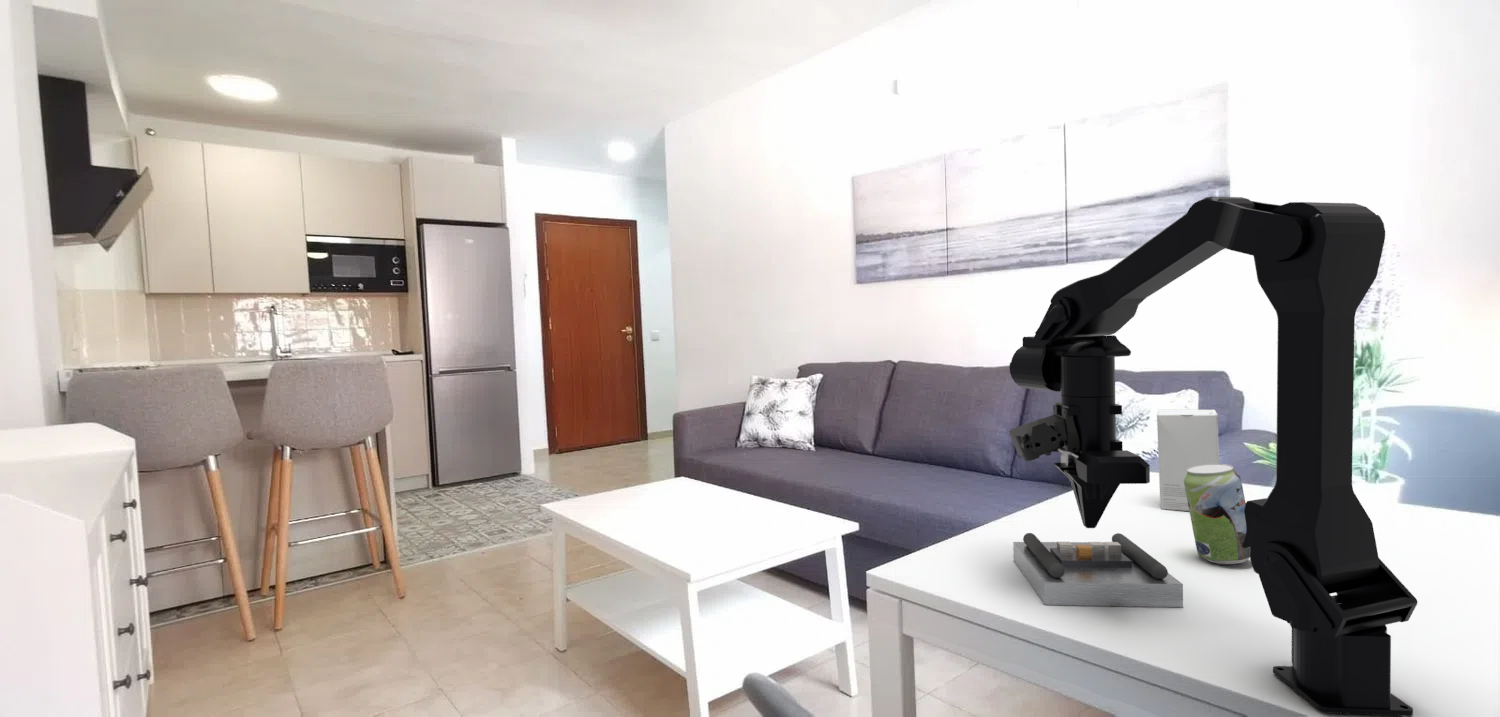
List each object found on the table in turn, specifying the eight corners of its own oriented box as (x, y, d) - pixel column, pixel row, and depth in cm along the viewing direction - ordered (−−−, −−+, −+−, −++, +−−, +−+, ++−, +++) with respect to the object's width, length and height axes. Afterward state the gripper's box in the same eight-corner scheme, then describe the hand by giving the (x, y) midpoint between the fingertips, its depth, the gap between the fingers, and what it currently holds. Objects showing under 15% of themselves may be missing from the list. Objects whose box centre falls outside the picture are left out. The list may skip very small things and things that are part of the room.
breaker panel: (1183, 607, 73) (1182, 565, 73) (1045, 604, 75) (1044, 564, 75) (1128, 562, 87) (1128, 526, 87) (1013, 560, 89) (1012, 526, 89)
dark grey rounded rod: (1170, 581, 74) (1170, 567, 74) (1154, 581, 74) (1154, 566, 74) (1123, 544, 86) (1123, 531, 86) (1109, 544, 86) (1109, 531, 86)
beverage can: (1265, 570, 83) (1265, 471, 82) (1197, 567, 84) (1196, 470, 83) (1239, 552, 89) (1238, 460, 88) (1176, 551, 90) (1175, 460, 90)
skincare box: (1219, 505, 111) (1218, 409, 110) (1221, 515, 105) (1220, 414, 104) (1158, 500, 115) (1157, 407, 114) (1157, 509, 109) (1156, 412, 109)
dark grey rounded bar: (1066, 580, 75) (1066, 565, 75) (1051, 580, 75) (1051, 565, 75) (1035, 543, 88) (1034, 531, 88) (1021, 543, 88) (1021, 531, 88)
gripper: (997, 389, 90) (1000, 506, 91) (1037, 406, 72) (1039, 553, 72) (1087, 387, 89) (1089, 506, 89) (1151, 403, 70) (1152, 554, 71)
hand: (1089, 527), depth 81 cm, fingers closed
